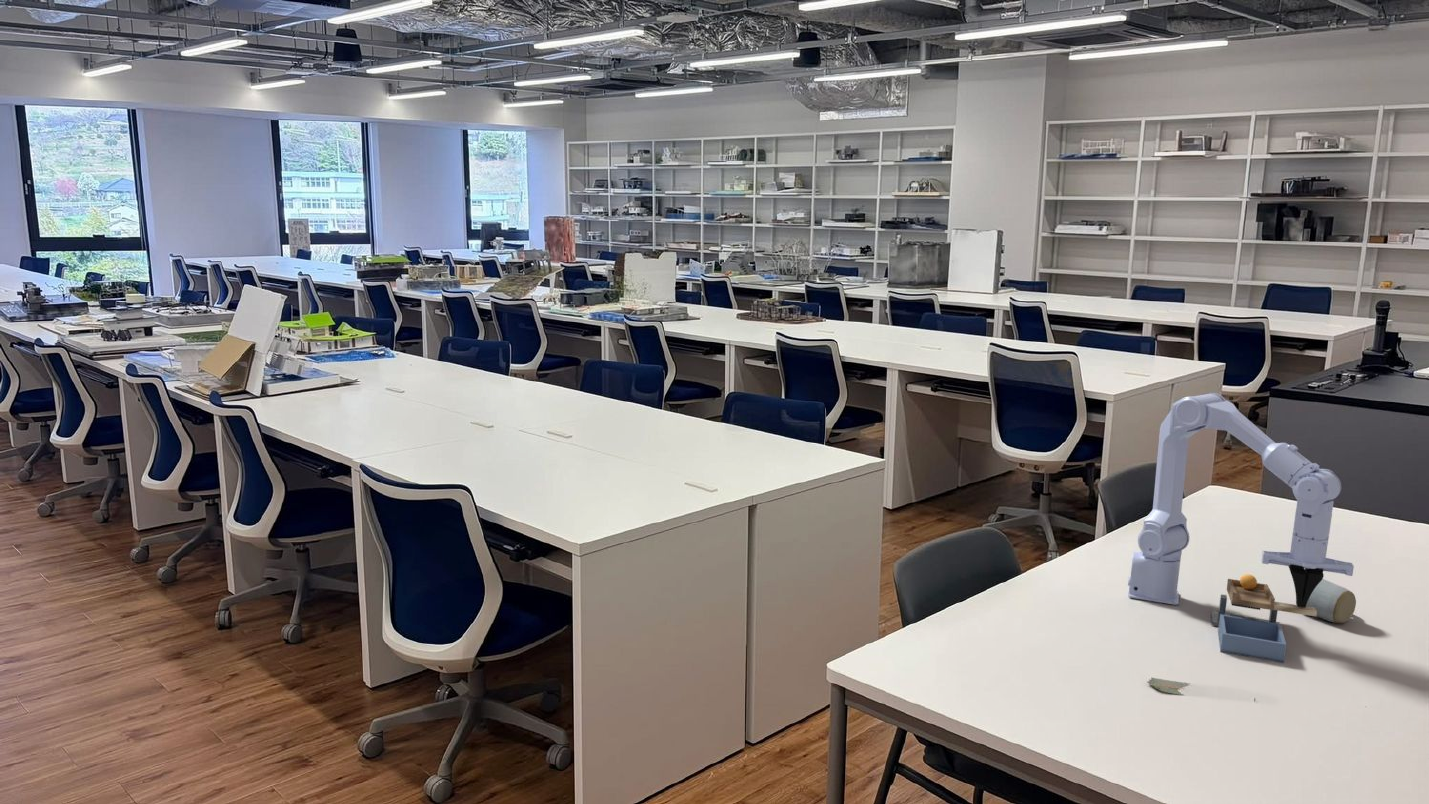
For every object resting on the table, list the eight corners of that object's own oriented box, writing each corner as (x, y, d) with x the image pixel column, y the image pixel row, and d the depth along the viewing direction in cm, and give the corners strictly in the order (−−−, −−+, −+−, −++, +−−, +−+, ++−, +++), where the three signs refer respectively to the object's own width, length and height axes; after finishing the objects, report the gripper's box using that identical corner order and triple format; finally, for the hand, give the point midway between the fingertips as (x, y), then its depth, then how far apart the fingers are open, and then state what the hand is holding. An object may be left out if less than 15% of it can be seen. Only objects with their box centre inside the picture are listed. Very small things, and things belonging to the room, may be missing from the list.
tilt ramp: (1230, 616, 191) (1233, 592, 191) (1225, 601, 204) (1227, 578, 203) (1315, 630, 185) (1318, 605, 185) (1304, 613, 198) (1307, 590, 198)
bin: (1220, 651, 185) (1222, 633, 184) (1217, 631, 194) (1220, 614, 193) (1283, 662, 181) (1286, 644, 180) (1278, 641, 190) (1280, 623, 189)
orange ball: (1239, 589, 199) (1241, 573, 199) (1238, 587, 202) (1240, 572, 202) (1256, 591, 198) (1258, 576, 198) (1255, 589, 201) (1256, 574, 201)
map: (1143, 680, 173) (1143, 675, 173) (1271, 693, 170) (1272, 688, 170) (1150, 694, 168) (1150, 688, 168) (1282, 708, 165) (1283, 702, 165)
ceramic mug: (1334, 628, 197) (1340, 591, 195) (1293, 613, 204) (1298, 577, 202) (1364, 620, 202) (1370, 583, 200) (1323, 605, 209) (1329, 570, 207)
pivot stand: (1212, 625, 197) (1215, 600, 196) (1211, 615, 202) (1214, 590, 201) (1282, 637, 192) (1285, 611, 191) (1279, 626, 197) (1282, 600, 196)
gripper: (1267, 535, 184) (1258, 605, 187) (1360, 547, 179) (1349, 619, 181) (1264, 525, 191) (1255, 593, 193) (1353, 536, 185) (1343, 606, 188)
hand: (1300, 605), depth 188 cm, fingers closed
